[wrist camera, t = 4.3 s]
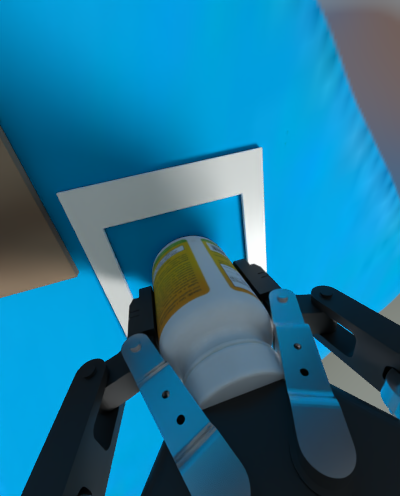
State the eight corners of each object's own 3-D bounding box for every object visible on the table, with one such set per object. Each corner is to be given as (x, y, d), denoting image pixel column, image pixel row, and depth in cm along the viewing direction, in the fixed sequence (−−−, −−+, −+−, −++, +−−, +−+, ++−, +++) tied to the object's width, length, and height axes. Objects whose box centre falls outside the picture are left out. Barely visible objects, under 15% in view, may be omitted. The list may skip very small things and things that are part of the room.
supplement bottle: (152, 301, 17) (166, 471, 8) (150, 234, 14) (167, 375, 6) (220, 294, 18) (293, 434, 9) (228, 232, 16) (334, 344, 7)
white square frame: (57, 192, 12) (56, 193, 12) (259, 147, 14) (262, 147, 13) (137, 354, 19) (137, 357, 18) (266, 311, 20) (268, 313, 20)
